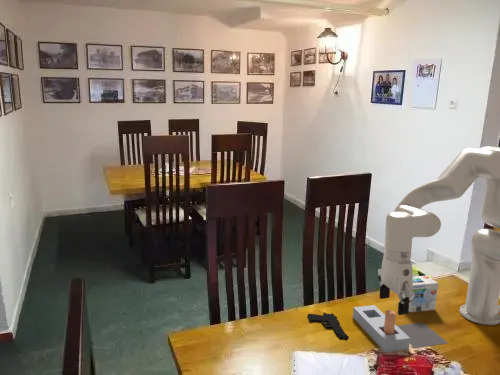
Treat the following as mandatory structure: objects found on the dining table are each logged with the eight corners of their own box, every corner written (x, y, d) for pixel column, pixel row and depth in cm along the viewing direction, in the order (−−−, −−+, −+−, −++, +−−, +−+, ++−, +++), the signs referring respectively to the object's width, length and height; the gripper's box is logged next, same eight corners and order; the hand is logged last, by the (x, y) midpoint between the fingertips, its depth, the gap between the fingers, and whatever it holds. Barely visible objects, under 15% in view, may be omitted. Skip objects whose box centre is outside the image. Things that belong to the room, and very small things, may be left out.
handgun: (306, 312, 137) (333, 311, 138) (306, 316, 137) (333, 314, 138) (319, 339, 121) (349, 337, 123) (318, 342, 122) (349, 340, 123)
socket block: (373, 315, 137) (374, 305, 136) (408, 349, 118) (410, 338, 117) (352, 317, 135) (353, 307, 134) (385, 353, 116) (386, 341, 115)
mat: (422, 323, 133) (423, 322, 133) (448, 344, 121) (448, 343, 121) (391, 327, 130) (391, 326, 130) (414, 349, 118) (414, 348, 118)
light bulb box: (409, 313, 139) (412, 285, 137) (398, 303, 145) (401, 277, 143) (435, 310, 141) (439, 282, 139) (424, 301, 148) (427, 274, 145)
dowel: (389, 338, 124) (392, 309, 121) (394, 344, 121) (398, 314, 119) (380, 339, 123) (383, 310, 121) (386, 345, 120) (389, 315, 118)
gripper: (427, 263, 108) (422, 319, 112) (391, 242, 125) (388, 291, 129) (403, 266, 107) (399, 322, 111) (370, 244, 123) (367, 293, 127)
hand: (393, 305), depth 120 cm, fingers open, 9 cm apart
